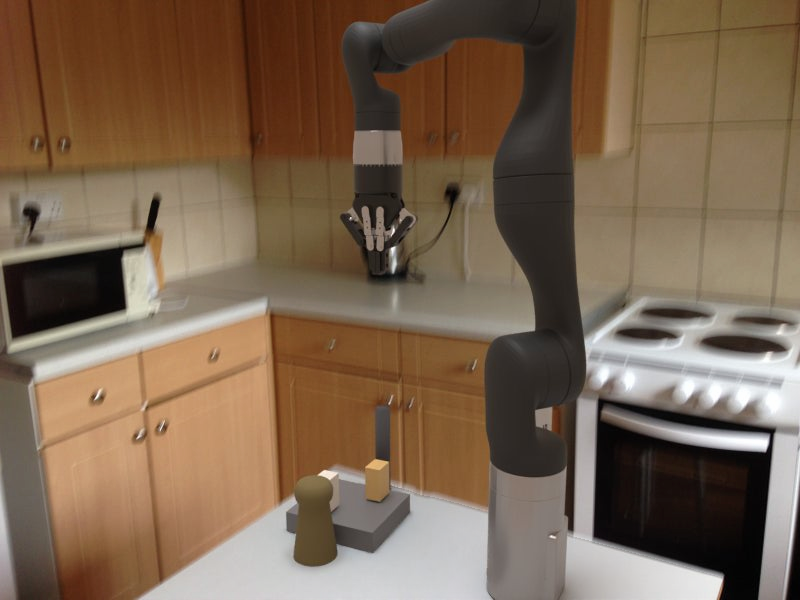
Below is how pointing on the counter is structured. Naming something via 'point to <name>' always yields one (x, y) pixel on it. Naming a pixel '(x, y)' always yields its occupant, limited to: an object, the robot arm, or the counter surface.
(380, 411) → the post
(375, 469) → the block
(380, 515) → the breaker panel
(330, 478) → the cream rectangular block
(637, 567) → the counter surface
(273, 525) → the counter surface
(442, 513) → the counter surface
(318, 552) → the olive knobbed post
